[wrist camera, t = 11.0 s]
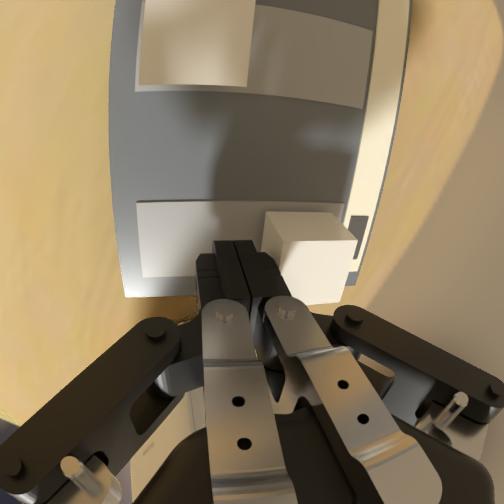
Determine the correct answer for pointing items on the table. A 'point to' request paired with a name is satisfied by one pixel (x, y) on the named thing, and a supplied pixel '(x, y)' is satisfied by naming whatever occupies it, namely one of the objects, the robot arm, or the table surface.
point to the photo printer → (167, 438)
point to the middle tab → (196, 42)
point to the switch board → (254, 136)
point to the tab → (310, 253)
